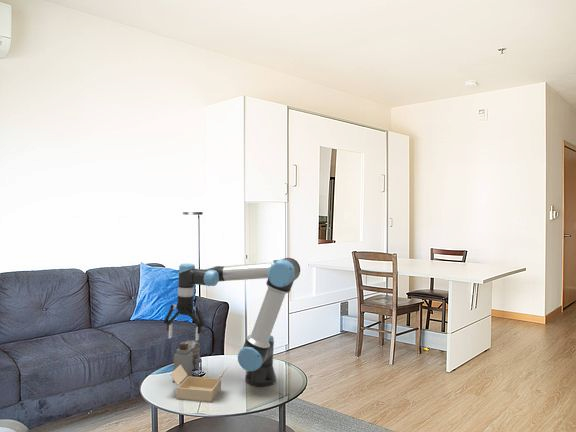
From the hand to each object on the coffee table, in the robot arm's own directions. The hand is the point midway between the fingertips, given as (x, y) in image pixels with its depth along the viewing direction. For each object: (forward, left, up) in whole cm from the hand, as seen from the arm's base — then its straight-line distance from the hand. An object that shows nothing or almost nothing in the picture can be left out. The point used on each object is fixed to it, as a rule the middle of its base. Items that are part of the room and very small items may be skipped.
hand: (183, 339), depth 231 cm
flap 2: (-23, +14, -12) cm, 29 cm away
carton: (-13, +14, -21) cm, 28 cm away
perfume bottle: (0, 0, -21) cm, 21 cm away
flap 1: (-4, +14, -12) cm, 19 cm away
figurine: (+3, -17, -21) cm, 27 cm away
